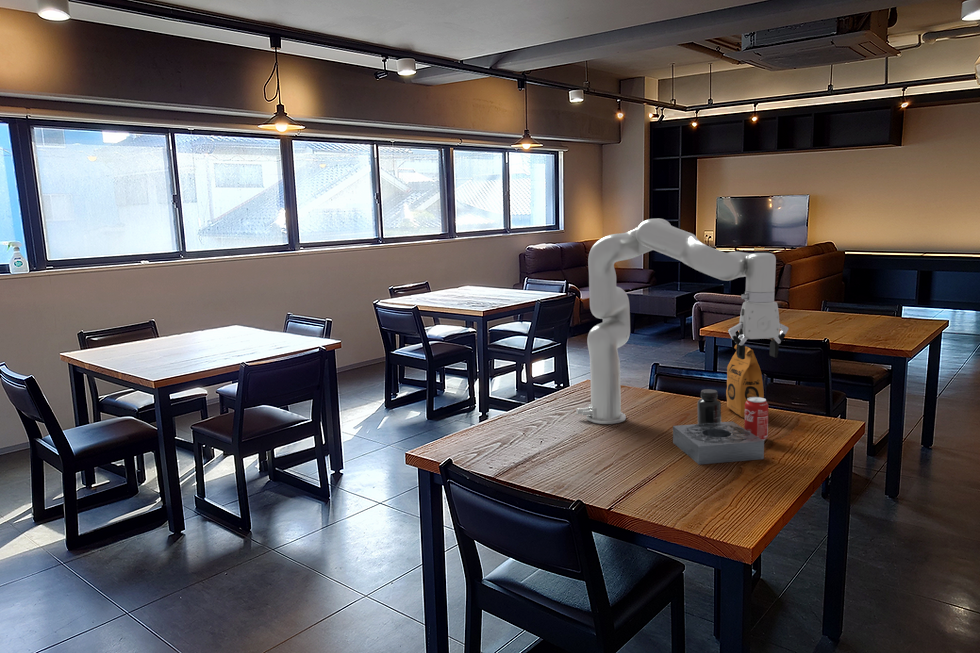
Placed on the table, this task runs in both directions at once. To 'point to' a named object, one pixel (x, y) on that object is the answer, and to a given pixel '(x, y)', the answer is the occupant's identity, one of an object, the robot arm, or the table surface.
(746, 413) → the beverage can
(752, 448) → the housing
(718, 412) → the supplement bottle
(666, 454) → the table surface
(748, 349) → the coffee package
